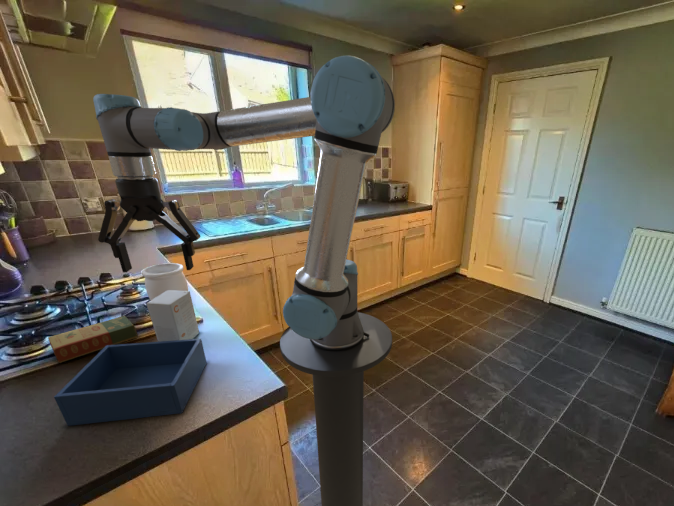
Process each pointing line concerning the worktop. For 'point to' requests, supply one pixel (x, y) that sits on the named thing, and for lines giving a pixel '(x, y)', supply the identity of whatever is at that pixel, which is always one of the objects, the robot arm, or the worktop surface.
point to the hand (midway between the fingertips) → (159, 269)
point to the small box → (173, 316)
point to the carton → (92, 338)
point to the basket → (133, 382)
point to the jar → (164, 279)
